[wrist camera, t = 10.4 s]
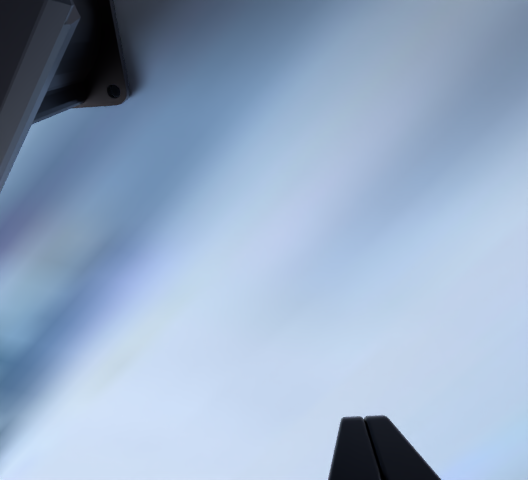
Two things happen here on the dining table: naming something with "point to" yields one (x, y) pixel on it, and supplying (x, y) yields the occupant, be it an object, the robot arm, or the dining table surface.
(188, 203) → the dining table surface
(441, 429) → the dining table surface
